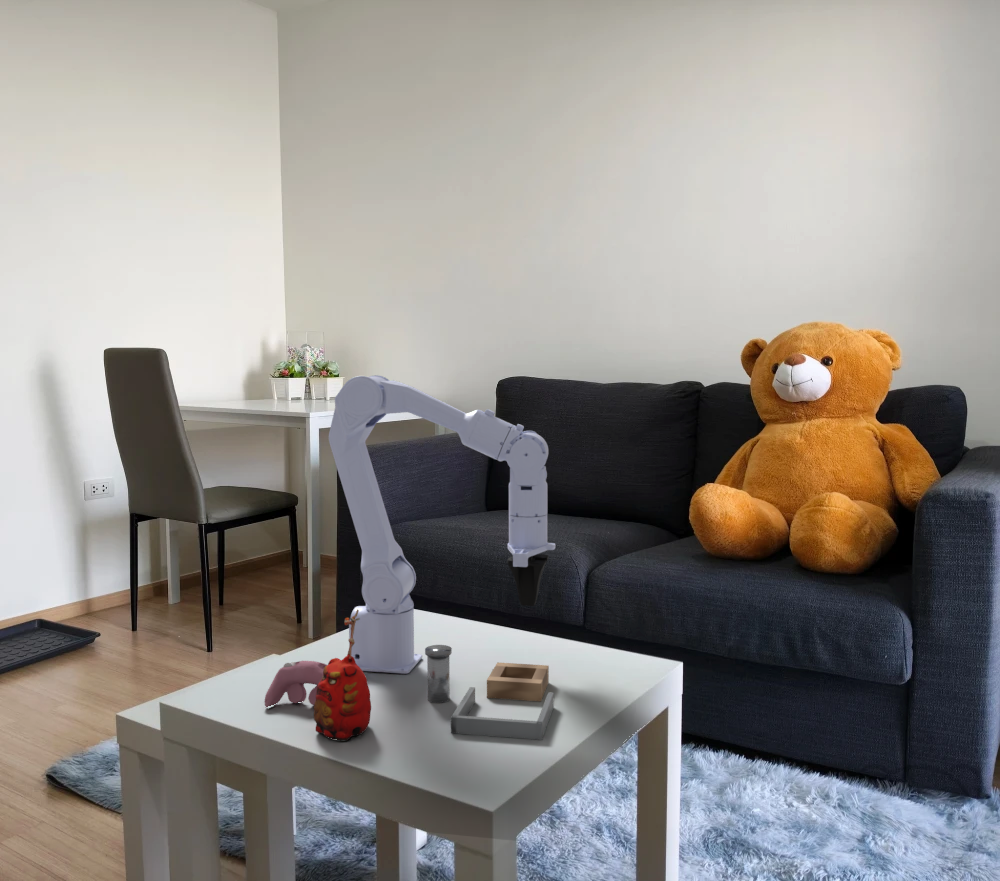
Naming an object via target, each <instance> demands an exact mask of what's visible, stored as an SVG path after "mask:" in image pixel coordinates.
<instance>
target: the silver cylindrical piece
mask: <svg viewBox="0 0 1000 881" xmlns="http://www.w3.org/2000/svg"><path fill="white" fill-rule="evenodd" d="M452 650H453V647H451V646H450V645H444V644H434V645H428V646H426V647H425V648H424V654H425V655H426V656H427V665H426V666H427V667H426V668H427V701H428V702H430V703H435V704H442V703H446V702H449V701H450V699H451V698H450V694H451V693H450V691H451V690H450V689H451V688H450V686H451V684H450V678H451V677H450V676H451V675H450V656H451V655H452Z"/></svg>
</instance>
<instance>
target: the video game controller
mask: <svg viewBox="0 0 1000 881" xmlns="http://www.w3.org/2000/svg"><path fill="white" fill-rule="evenodd" d="M327 665H328V664H326V663H323V662H321V661H320V662H319V661H314V660H299V661H294V662H293V661H292V662H285V664H283V667H281V668H279V669H278V671H277V672H276V674H275V675H274V677H273V680H272V682H271V683H270V685H269V688H267V691H266V693H265V696H264V706H266V707H268V706H271V705H274V704H276V703H277V704H278V703H279V702H280V701H281V699H282V698H283V697H284V695H285V694H287V697H288V701H289V702H290V703H292V702H293V704H296V703H298V702H302V701H303V702H304V701H305V700H306V698H307V689H306V688H305V684H310V685H314V687H313V688H312V689H311V690H310V691H309V694H308V702H309V703H310V704H311V705H312V706H314V703H315V700H316V692H317V686H318V684H319V682H320V681H321V679H322V677H323V670H324V667H326V666H327ZM303 702H302V703H303ZM277 704H276V705H277ZM266 707H265V708H266Z"/></svg>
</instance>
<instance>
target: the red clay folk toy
mask: <svg viewBox="0 0 1000 881" xmlns="http://www.w3.org/2000/svg"><path fill="white" fill-rule="evenodd" d="M358 611H359V610H358V609H357V611H356V614H355V615H354V616H353V617H352V618H350V617H345V618H344V626H349V624H350V625H351V638H350V639H349V638H348V644H349V643H350V646H349V645H348V651H347V654H346V656H344V658H343V659H340V658H338V657H335V658H331V659H330V660H329V661H328V663H327V664H326V665H327V666H326V667H324V670H323V677H322V679H321V681H320V682H319V684H318V686H317V685H316V686H317V692H316V700H315V703H314V705H313V711H314V712H313V719H314V721H315V724H316V725H315V732H316V733H319V734H323V735H324V737H326V738H327V737H329V738H332V739H337V740H340V741H341V740H346V741H349V740H350V738H351V737H354V736H355V737H356V736H360V735H361V733H362V734H363V733H365V732H366V730H367V728H368V727H369V725H370V720H371V711H372V701H371V691H370V688H369V685H368V678H367V677H366V674H365V673H364V671H362V670H361V668H360V667H359V666H358V665H357V664H356V662H355V659H354V657H352V656H351V651H352V646H353V645H354V643H355V642H354V639H353V633H354V627H355V623H356V621H357V620H359V619H360V618H357V619H355V618H356V616H357V614H358ZM350 619H351V621H350ZM329 738H328V739H329ZM332 739H331V740H332ZM348 739H349V740H348ZM337 740H336V741H337ZM341 742H342V741H341Z"/></svg>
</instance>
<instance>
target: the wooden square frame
mask: <svg viewBox="0 0 1000 881" xmlns="http://www.w3.org/2000/svg"><path fill="white" fill-rule="evenodd" d="M549 667H550V666H549V665H548V664H530V663H529V664H528V663H513V662H512V663H511V662H510V663H509V662H496V663H495V666H494V667H493V669H492V671H491V673H490V674H489V676H488V677H487V679H486V698H487V699H496V700H497V699H498V700H499V699H500V700H511V701H512V700H513V701H530V702H542V699H543V697H544V696H545V693H546V690H547V688H548V685H549V681H550V679H549V677H550V676H549V675H550V674H549V670H550V669H549Z"/></svg>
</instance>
